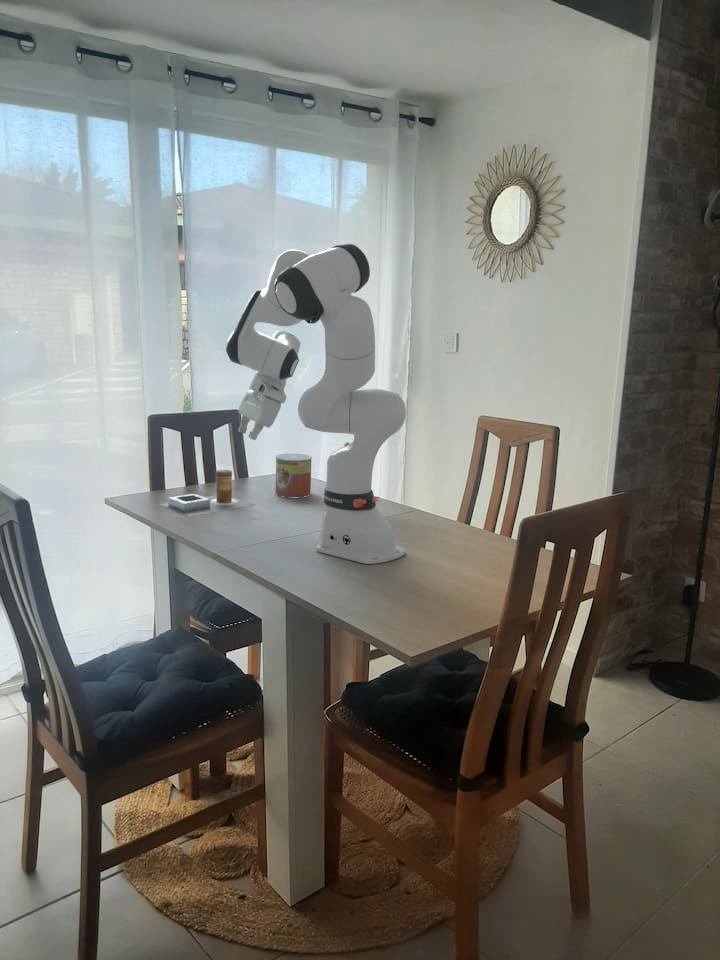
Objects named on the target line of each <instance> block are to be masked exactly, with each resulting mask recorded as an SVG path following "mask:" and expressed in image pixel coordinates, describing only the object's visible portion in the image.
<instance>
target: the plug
mask: <svg viewBox="0 0 720 960" xmlns="http://www.w3.org/2000/svg"><path fill="white" fill-rule="evenodd" d="M215 473H216V477H215V478H216V480H215V481H216V485H215V486H216V487H215V488H216V494H215V495H216V497H217V502H218V503H230V502H232V497H233V495H232V494H233V488H232V487H233V471H232V470H229V469H219V470H218V469H217V470H216V471H215Z"/></svg>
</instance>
